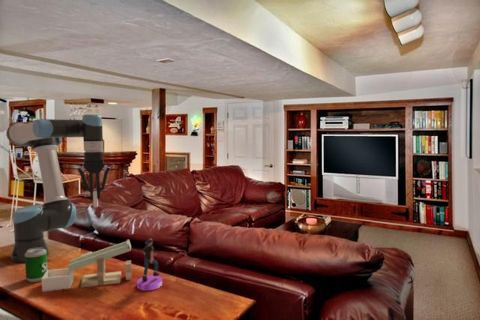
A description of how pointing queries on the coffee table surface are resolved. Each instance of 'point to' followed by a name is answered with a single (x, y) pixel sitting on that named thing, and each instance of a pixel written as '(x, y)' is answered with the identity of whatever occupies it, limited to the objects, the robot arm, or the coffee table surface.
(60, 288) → the dish
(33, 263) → the soda can
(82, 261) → the lever
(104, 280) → the stand
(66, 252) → the coffee table surface
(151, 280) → the figurine
